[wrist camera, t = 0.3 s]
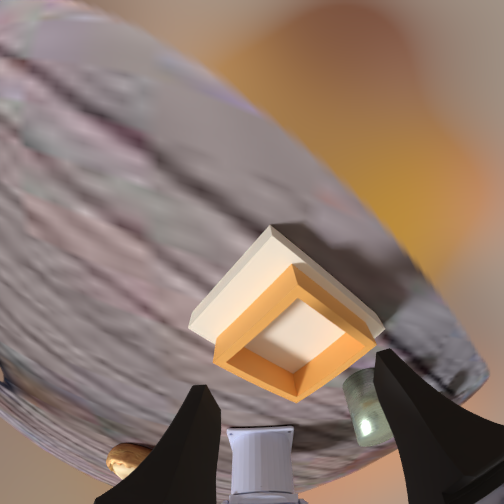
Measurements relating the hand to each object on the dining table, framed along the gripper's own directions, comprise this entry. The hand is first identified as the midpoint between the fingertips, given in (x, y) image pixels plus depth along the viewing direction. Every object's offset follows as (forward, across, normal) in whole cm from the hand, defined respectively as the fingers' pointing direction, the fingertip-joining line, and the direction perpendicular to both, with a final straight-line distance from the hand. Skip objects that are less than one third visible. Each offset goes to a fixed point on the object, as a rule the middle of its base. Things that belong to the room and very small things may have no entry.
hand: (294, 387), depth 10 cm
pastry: (+10, +27, +31) cm, 42 cm away
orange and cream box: (+10, 0, +4) cm, 10 cm away
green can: (+10, -7, +15) cm, 19 cm away
